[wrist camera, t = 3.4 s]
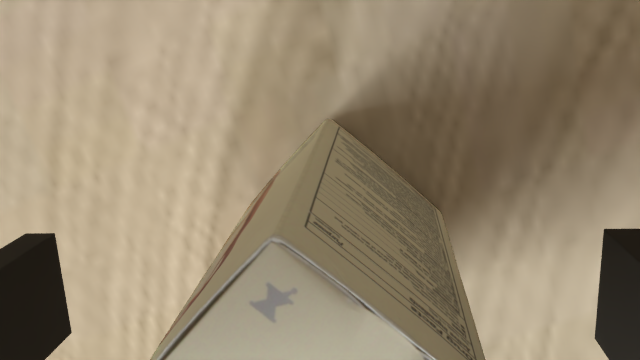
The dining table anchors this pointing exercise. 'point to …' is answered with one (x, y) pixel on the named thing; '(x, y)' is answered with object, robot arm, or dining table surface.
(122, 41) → the dining table surface
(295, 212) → the cardboard box
